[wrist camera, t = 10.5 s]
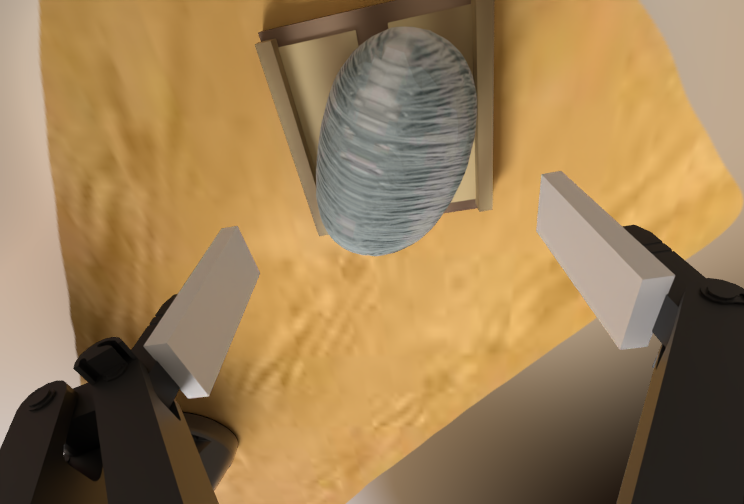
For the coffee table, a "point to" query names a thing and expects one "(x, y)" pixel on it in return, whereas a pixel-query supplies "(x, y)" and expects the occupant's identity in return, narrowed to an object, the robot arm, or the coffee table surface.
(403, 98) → the grey streaked ellipsoid
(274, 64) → the shallow beige tray
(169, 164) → the coffee table surface
